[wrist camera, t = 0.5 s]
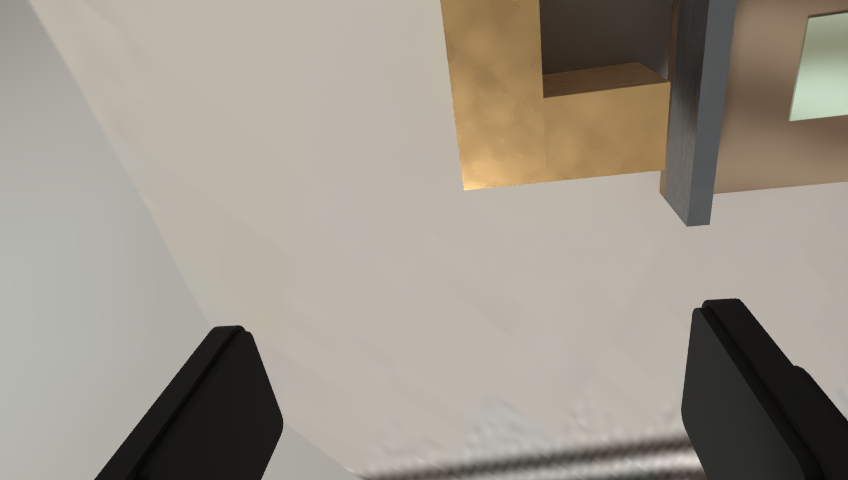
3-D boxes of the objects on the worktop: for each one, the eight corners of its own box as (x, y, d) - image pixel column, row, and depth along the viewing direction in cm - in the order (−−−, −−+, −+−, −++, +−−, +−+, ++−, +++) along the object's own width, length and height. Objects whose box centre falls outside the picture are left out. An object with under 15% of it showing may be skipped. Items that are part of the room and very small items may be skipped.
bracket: (443, -53, 28) (433, -58, 22) (643, -89, 26) (683, -104, 21) (467, 155, 33) (464, 190, 28) (634, 136, 31) (664, 170, 26)
